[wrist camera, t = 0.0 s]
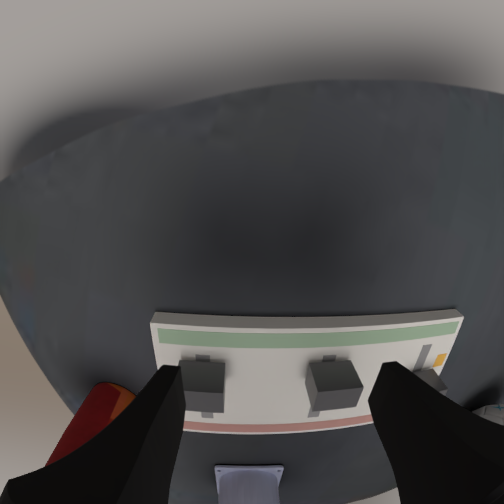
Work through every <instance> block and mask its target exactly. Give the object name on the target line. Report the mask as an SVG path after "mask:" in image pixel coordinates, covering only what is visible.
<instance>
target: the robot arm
mask: <svg viewBox="0 0 504 504" xmlns="http://www.w3.org/2000/svg"><path fill="white" fill-rule="evenodd" d="M368 404H369V408H370V412H371V415H372V419H373V422H374V425H375V427H376V430H377V432H378V434H379V437H380V439H381V442H382V444H383V446H384V449H385V451H386V453H387V456H388V458H389V461H390V463H391V466H392V469H393V472H394V475H395V479H396V483H397V487H398V491H399V496H400V502H401V504H504V425H500V424H498V423H495V422H492V421H490V420H487V419H485V418H483V417H481V416H478V415H477V414H475V413H473V412H471V411H469V410H467V409H465V408H463V407H461V406H460V405H458V404H457V403H455V402H453V401H452V400H450V399H449V398H447V397H446V396H444V395H443V394H441V393H440V392H438V391H437V390H436V389H434V388H433V387H431V386H430V385H429V384H427V383H426V382H425V381H423V380H422V379H421V378H419V377H418V376H417V375H415V374H414V373H413V372H411V371H410V370H409V369H407V368H406V367H404V366H403V365H401V364H400V363H398V362H397V361H392V362H385V363H382V366H381V368H380V371H379V374H378V376H377V379H376V381H375V384H374V386H373V389H372V391H371V393H370V396H369V398H368ZM185 410H186V401H185V394H184V388H183V381H182V373H181V366H174V365H164V364H163V365H162V366H161V367H160V368H159V369H158V371H157V372H156V373H155V374H154V376H153V377H152V378H151V379H150V381H149V382H148V383H147V384H146V385H145V387H144V388H143V389H142V390H141V391H140V393H139V394H138V395H137V396H136V397H135V398H134V399H133V400H132V401H131V403H130V404H129V405H128V406H127V407H126V408H125V409H124V410H123V411H122V412H121V413H120V414H119V415H118V416H117V417H116V418H115V419H114V420H113V421H112V422H110V423H109V424H108V425H107V426H106V427H105V428H104V429H103V430H101V431H100V432H99V433H98V434H96V435H95V436H94V437H93V438H91V439H90V440H89V441H87V442H86V443H84V444H83V445H82V446H80V447H79V448H77V449H76V450H74V451H73V452H71V453H69V454H68V455H66V456H64V457H63V458H61V459H59V460H57V461H55V462H53V463H51V464H49V465H47V466H45V467H43V468H41V469H38V470H36V471H34V472H31V473H28V474H25V475H22V476H19V477H16V478H13V479H10V480H8V482H7V484H6V486H5V488H4V490H3V492H2V494H1V496H0V504H168V498H169V488H170V483H171V477H172V473H173V469H174V465H175V461H176V457H177V453H178V449H179V445H180V440H181V436H182V432H183V427H184V419H185ZM283 470H284V467H283V466H282V465H271V466H228V465H216V466H215V475H216V483H217V491H218V494H219V498H218V504H280V501H279V491H278V485H279V482H280V479H281V476H282V473H283Z"/></svg>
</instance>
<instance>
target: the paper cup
mask: <svg viewBox="0 0 504 504" xmlns="http://www.w3.org/2000/svg"><path fill="white" fill-rule="evenodd" d="M135 397H136V395H134V394H133V393H132V392H130V391H129V390H127V389H126V388H124V387H122V386H119V385H117V384H113V383H107V382H103V383H99V384H97V385H95V386H94V388H93V389H92V390H91V392H90V393H89V395H88V396H87V397H86V399H85V400H84V402H83V404H82V405H81V407H80V408H79V410H78V411H77V413H76V414H75V416H74V418H73V419H72V421H71V422H70V424H69V425H68V427H67V428H66V430H65V432H64V434H63V435H62V437H61V439H60V440H59V442H58V444H57V446H56V448H55V449H54V451H53V453H52V454H51V456H50V458H49V460H48V461H47V463H46V465H45V466H47V465H49V464H51V463H53V462H55V461H57V460H59V459H61V458H63V457H64V456H66V455H68V454H69V453H71V452H73V451H74V450H76V449H77V448H79V447H80V446H82V445H83V444H84V443H86V442H87V441H89V440H90V439H91V438H93V437H94V436H95V435H96V434H98V433H99V432H100V431H101V430H103V429H104V428H105V427H106V426H107V425H108V424H109V423H110V422H112V421H113V420H114V419H115V418H116V417H117V416H118V415H119V414H120V413H121V412H122V411H123V410H124V409H125V408H126V407H127V406H128V405H129V404H130V403H131V401H132V400H133V399H134V398H135Z"/></svg>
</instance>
